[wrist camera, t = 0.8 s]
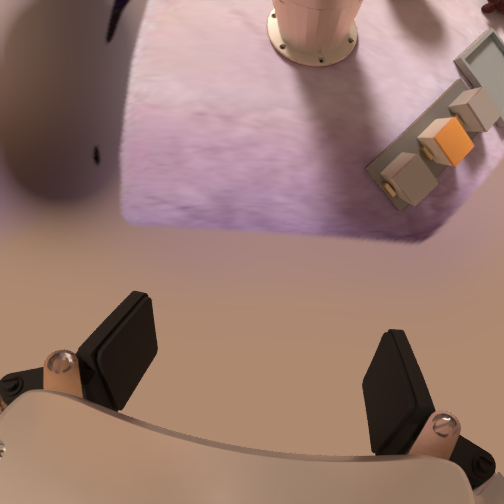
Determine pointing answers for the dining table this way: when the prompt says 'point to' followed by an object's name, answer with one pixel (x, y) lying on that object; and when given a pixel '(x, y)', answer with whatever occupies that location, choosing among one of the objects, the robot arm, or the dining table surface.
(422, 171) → the fuse
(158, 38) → the dining table surface
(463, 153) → the block
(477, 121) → the block
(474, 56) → the tray
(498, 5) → the icecream
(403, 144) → the fuse panel
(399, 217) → the dining table surface
